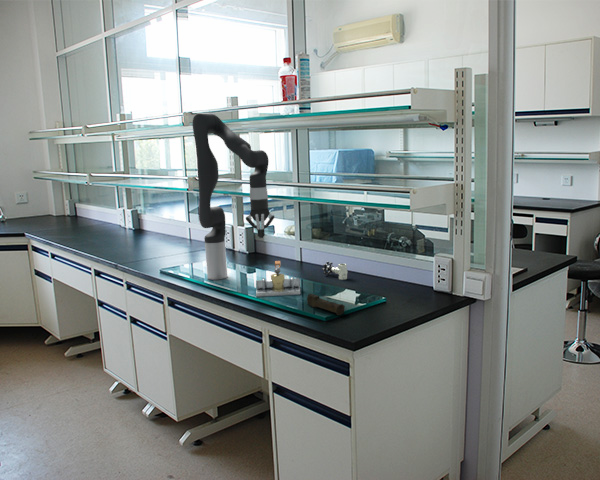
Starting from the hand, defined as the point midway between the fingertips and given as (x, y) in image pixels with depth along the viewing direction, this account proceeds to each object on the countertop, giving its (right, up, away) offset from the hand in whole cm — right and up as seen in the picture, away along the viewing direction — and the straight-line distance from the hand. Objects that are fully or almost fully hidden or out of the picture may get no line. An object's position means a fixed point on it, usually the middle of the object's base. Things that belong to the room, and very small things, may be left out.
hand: (261, 237), depth 238 cm
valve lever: (+7, -13, -3) cm, 16 cm away
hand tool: (+25, -27, -35) cm, 51 cm away
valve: (+33, -18, +10) cm, 39 cm away
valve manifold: (+8, -23, -8) cm, 25 cm away
